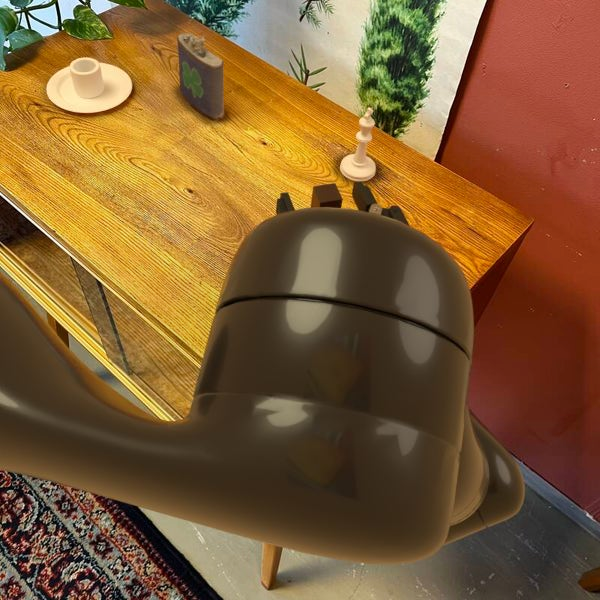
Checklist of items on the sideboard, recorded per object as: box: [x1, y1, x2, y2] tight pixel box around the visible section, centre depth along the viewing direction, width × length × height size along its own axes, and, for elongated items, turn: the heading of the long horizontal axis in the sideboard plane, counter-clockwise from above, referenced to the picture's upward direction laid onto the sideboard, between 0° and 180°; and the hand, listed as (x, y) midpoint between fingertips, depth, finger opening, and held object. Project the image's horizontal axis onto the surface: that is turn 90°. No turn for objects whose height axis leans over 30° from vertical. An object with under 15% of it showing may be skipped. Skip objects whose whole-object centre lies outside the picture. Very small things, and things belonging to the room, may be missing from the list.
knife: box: [310, 182, 344, 208], centre depth 72 cm, size 2×3×15 cm
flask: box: [176, 32, 225, 122], centre depth 93 cm, size 9×3×11 cm, turn 40°
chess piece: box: [339, 107, 377, 182], centre depth 87 cm, size 5×5×10 cm
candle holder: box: [46, 57, 133, 114], centre depth 95 cm, size 12×12×4 cm
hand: (319, 193), depth 69 cm, fingers open, 7 cm apart
